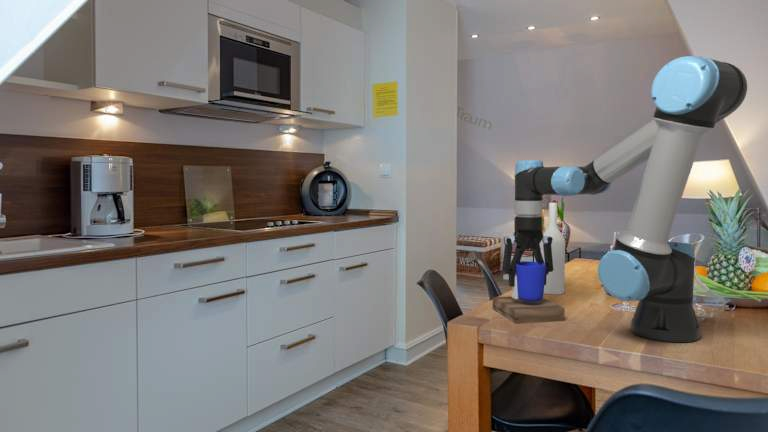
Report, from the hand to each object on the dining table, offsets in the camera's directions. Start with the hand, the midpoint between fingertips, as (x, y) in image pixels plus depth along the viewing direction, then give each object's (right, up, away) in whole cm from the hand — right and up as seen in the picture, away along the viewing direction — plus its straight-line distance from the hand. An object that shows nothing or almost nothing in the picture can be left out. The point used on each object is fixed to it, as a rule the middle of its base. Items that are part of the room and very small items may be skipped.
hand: (527, 297), depth 152 cm
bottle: (+16, -3, +30) cm, 34 cm away
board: (0, -5, 0) cm, 5 cm away
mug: (0, 0, 0) cm, 1 cm away
